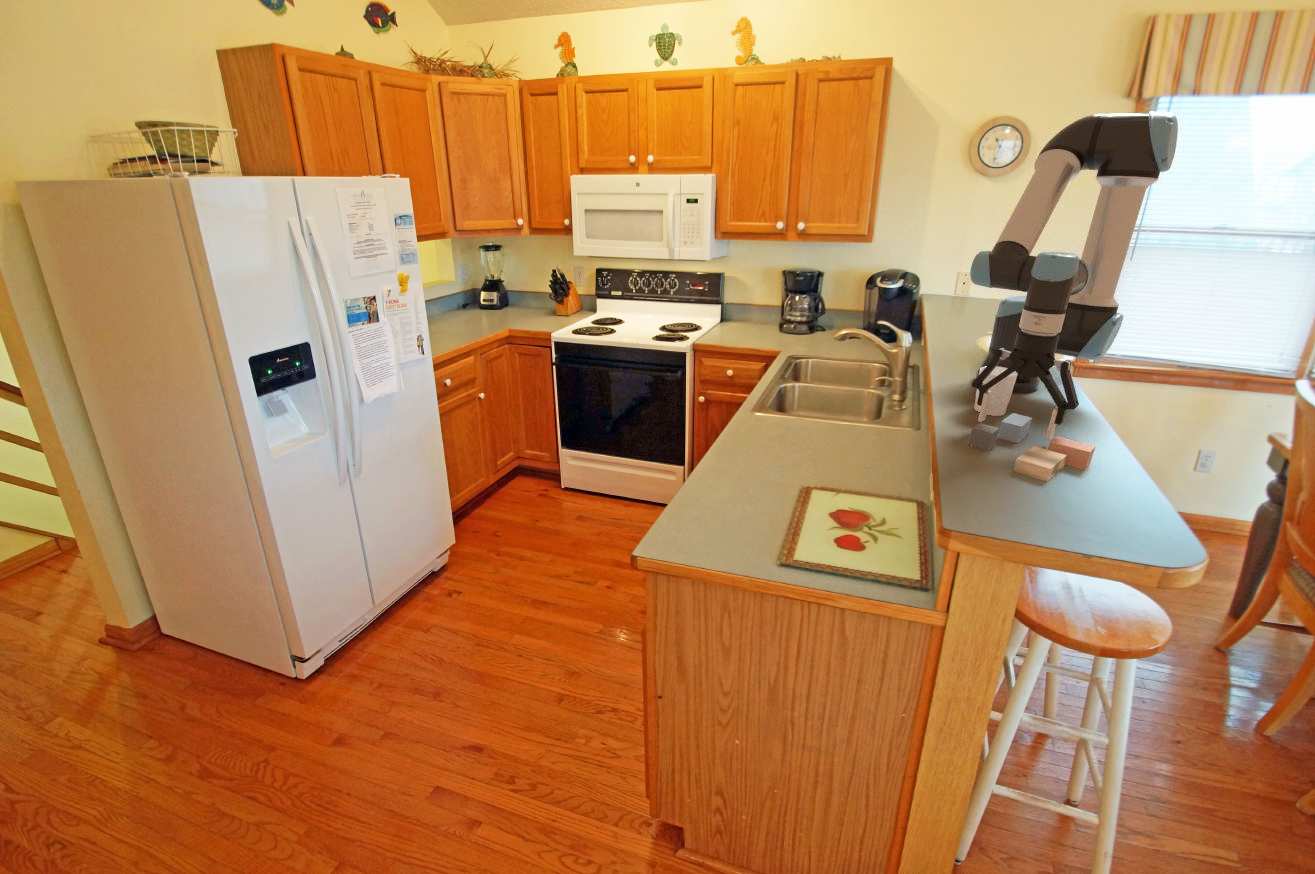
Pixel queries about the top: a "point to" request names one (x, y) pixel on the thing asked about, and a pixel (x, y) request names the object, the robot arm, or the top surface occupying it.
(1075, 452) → the terracotta block
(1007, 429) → the blue block
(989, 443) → the charcoal block
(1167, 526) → the top surface
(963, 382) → the top surface
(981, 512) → the top surface
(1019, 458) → the maple block
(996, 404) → the white cup
